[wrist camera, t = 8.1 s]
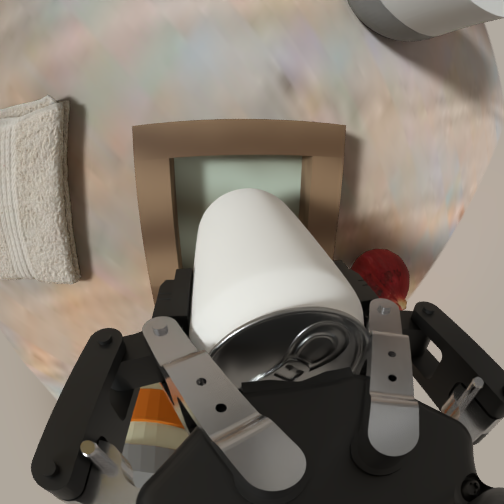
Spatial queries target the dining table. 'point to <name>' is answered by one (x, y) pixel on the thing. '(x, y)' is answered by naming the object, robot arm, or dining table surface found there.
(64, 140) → the washcloth
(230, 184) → the holder
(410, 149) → the dining table surface
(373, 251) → the onion
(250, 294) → the can
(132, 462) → the reusable coffee cup
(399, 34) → the smart speaker
